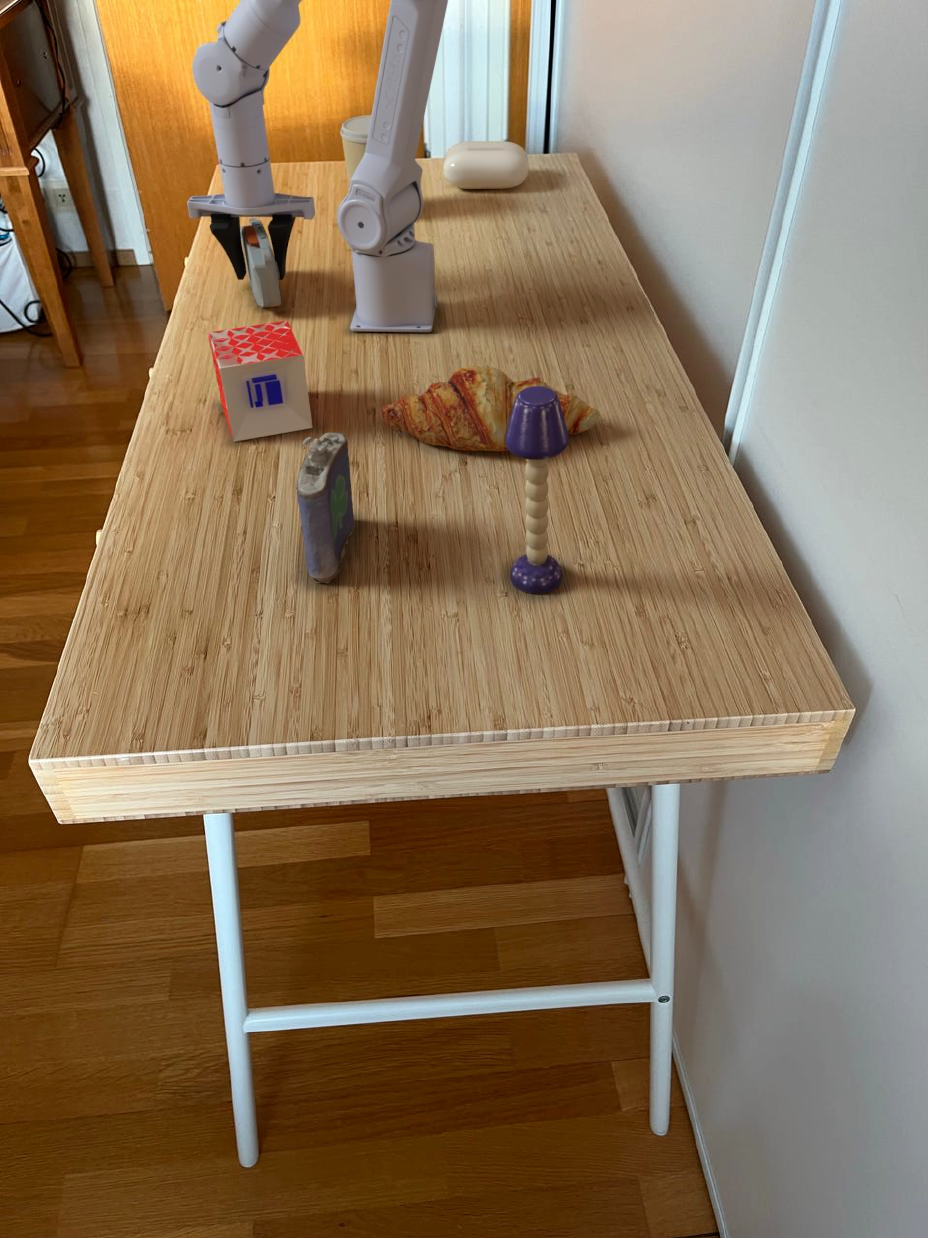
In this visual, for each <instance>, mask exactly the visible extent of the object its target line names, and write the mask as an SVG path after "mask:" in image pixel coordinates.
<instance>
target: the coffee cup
mask: <svg viewBox="0 0 928 1238" xmlns="http://www.w3.org/2000/svg"><path fill="white" fill-rule="evenodd" d="M371 115H372V114H367V115H360V116H359V115H358V116H354V117H351V118H348V119H346V120H345V121H344V122H342V124H341V128H340V130H339V134H340V137H341V141H342V147H343V157H344V162H345V169H346V170H345V171H346V175H347V177H346V178H347V183H348V189H349V188H350V182H351V178H352V176H353V174H354V172H355V171H356V169H357V167H358V165H359V163H360V162H361V160H362V158H363V156H364V154H365V150H366V144H367V138H368V132H369V127H370V121H371Z"/></svg>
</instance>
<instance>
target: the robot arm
mask: <svg viewBox="0 0 928 1238" xmlns="http://www.w3.org/2000/svg"><path fill="white" fill-rule="evenodd" d="M302 1H303V0H239V2H238V4H237V5H236V7H235V8H234V10H233V11H232V13H231V14H230V16H229V17H228V19H227V20H224V21H221V22H219V24H218V25H217V27H216V32H217V36H216V41H208V42H205V43H203V44H201V45H199V46H197V48H196V51H195V55H194V57H193V58H192V59H193V60H192V64H191V65H192V66H191V67H192V68H191V69H192V76H193V80H194V83H195V85H196V87H197V89H198V90H199V92H200V94H201V95H202V96H203V98H205V99H206V100H207V101H208V106H209V112H210V116H211V123H212V129H213V135H214V141H215V146H216V147H215V148H216V153H217V158H218V165H219V170H220V176H221V182H222V188H223V189H222V190H223V193H219V194H210V195H209V194H208V195H193V196H190V198H189V199H188V200H187V202H186V204H187V210H188V216H189V219H191V220H194V219H195V220H198V219H200V218H202V217H203V218H204V217H205V218H206V217H207V218H208V217H210V225H209V230H210V233H211V235H213V236H214V238H215V239H216V240H217V242H218V243H219V244H220V246H221V247H222V249H223V251H224V252H225V254H226V256H227V257H228V260H229V262H230V264H231V267H232V268H233V271H234V273H235V276H236V279H237V280H238V281H243V280H244V279H245V277H246V276H247V265H246V259H245V253H244V249H243V244H242V240H241V232H240V227H241V220H240V218H271V220H270V221H269V223H268V224H267V232H268V234H269V240H270V244H271V248H272V251H273V254H274V259H275V262H277V267H278V272H279V281H283V280H284V279H285V277H286V275H287V270H286V269H287V268H286V267H287V256H288V255H287V254H288V249H289V244H290V239H291V235H292V232H293V227H294V225H295V221H296V218H303V219H304V220H313V219H314V218H315V215H316V207H315V199H314V198H315V197H314V196H301V195H294V194H285V193H279V192H275V186H274V179H273V172H272V163H271V156H270V148H269V141H268V134H267V128H266V127H267V125H266V119H265V112H264V105H265V104H266V103H265V97H264V96H265V95H264V93H265V88H266V86H267V84H268V83H269V80H270V74H271V73H270V67H271V66H272V64H273V63H274V62H275V61H276V59H277V58H278V56H279V55H280V53H282V51H283V49H284V48H285V47H286V45H287V44H288V42H289V41H290V40H291V38H292V37H293V36H294V34H296V32H297V30H298V29H299V27H300V25H301V11H300V6H299V5H300V3H302ZM389 3H390V4H389V8H388V15H387V21H386V25H385V26H386V27H385V33H384V39H383V43H382V50H381V56H380V62H379V68H378V74H377V75H378V76H377V79H376V85H375V90H374V91H375V92H374V97H373V103H372V109H371V114H370V115H371V121H370V127H369V132H368V138H367V144H366V150H365V154H364V156H363V158H362V160H361V162H360V163H359V165H358V167H357V169H356V171H355V172H354V174H353V176H352V178H351V182H350V188H349V187H348V192H347V194H346V195H345V197H344V198H343V199H342V200H341V202H340V203H339V206H338V208H337V212H336V223H337V227H338V230H339V233H340V235H341V237H342V238H343V240H344V241H345V242H346V244H347V245H348V246H349V248H350V252H351V257H352V259H351V260H352V270H353V280H354V281H353V282H354V293H355V303H356V307H355V310H354V313H353V316H352V319H351V322H350V325H349V328H350V331H351V332H373V333H374V332H376V333H378V332H383V333H430V332H432V331H433V326H434V320H435V314H436V310H437V308H438V293H437V291H436V264H435V263H436V261H435V247H434V244H433V243H432V242H425V241H420V240H417V239H416V236H415V235H416V234H415V233H416V232H415V223H416V222H417V221H419V218H420V217H421V215H422V213H423V209H424V195H423V192H422V187H421V183H422V175H423V168H422V166H421V165H420V164H419V163H418V162H417V160H416V158H417V153H418V148H419V143H420V140H421V139H420V138H421V135H422V129H423V124H424V119H425V114H426V110H427V106H428V105H427V104H428V99H429V96H430V90H431V86H432V81H433V76H434V75H433V74H434V71H435V66H436V62H437V56H438V52H439V46H440V42H441V37H442V33H443V27H444V23H445V18H446V15H447V14H446V13H447V10H448V9H447V8H448V4H449V0H390V2H389Z"/></svg>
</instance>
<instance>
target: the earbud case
mask: <svg viewBox="0 0 928 1238" xmlns="http://www.w3.org/2000/svg"><path fill="white" fill-rule="evenodd" d="M528 157H529V156H528V153H527V152H526V150H525V149H524V148H523V147H522V146H521V145H519V144H517V143H515V142H512V141H505V140H488V141H487V140H484V141H483V140H480V141H479V140H477V141H476V140H474V141H462V142H458V143H455V144H453V145H452V146H450V147H449V148H448V149H447V150H446V152H445V153H444V155H443V162H442V173H443V177H444V179H445V180H446V181H447V182H448V183H449V184H450V185H452V186H453V187H455V188H459V189H463V190H504V189H505V190H506V189H511V188H516V187H517V186H520V185H521V184H523V182H525V180H526V179H527V178H528V176H529V171H530V167H529V166H530V165H529V158H528Z"/></svg>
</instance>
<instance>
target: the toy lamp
mask: <svg viewBox="0 0 928 1238" xmlns="http://www.w3.org/2000/svg"><path fill="white" fill-rule="evenodd" d="M550 388H551V387H550ZM550 388H548V387H543V386H532V387H527V388H525V389H523V390H521V391H520V392H519V393H518V394H517V396H516V399H515V402H514V405H513V409H512V413H511V416H510V420H509V424H508V427H507V431H506V436H505V443H506V446H507V448H508V450H507V451H509V452H510V453H511V454H513V455H514V456H516V457H519V458H522V459H524V460H526V465H525V468H524V469H525V470H524V473H525V478H526V481H525V486H524V487H525V488H524V489H525V490H524V491H525V494H526V498H525V502H524V507H525V511H526V516H525V527H526V533H525V540H526V543H527V544H526V545H527V546H526V549H525V554H522V555H521V556H520V557H518V558H517V560H516V561H515V562H514V563H513V564H512V568H511V570H510V577H509V578H510V581H511V583H512V585H513V586H514V587H515V588H516V589H517V590H520V591H521V592H524V593H527V594H536V595H540V594H547V593H550V592H553V591H554V590H556V589H557V588H559V586H560V585H561V583H562V581H563V570H562V568H561V565H560V564H559V562H558V561H557V559H556V558H554V557H553V556H552V555H550V554H549V550H548V546H547V544H548V541H549V534H548V533H549V532H548V530H547V529H548V527H549V516H548V511H549V499H548V494H549V482H548V481H547V480H548V478H549V476H550V475H549V474H550V468H549V465H548V461H549V460H550V459H551V458H554V457H556V456H557V457H558V456H559V455H560V454H562V453H563V452H564V451H565V450H566V449H567V447H568V445H569V442H570V441H569V440H570V437H569V434H568V431H567V427H566V423H565V419H564V416H563V412H562V408H561V405H560V401H559V398H558V396H557V394H556V393H555V391H553V390H552V389H550Z"/></svg>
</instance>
